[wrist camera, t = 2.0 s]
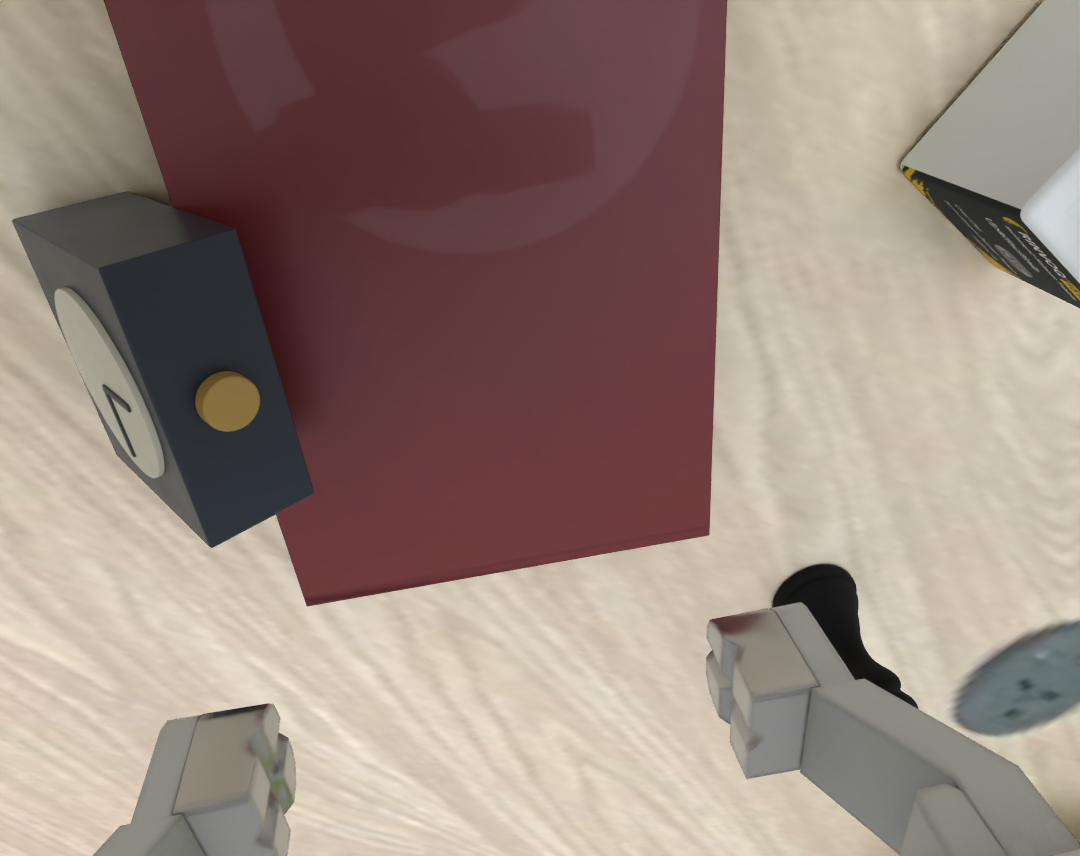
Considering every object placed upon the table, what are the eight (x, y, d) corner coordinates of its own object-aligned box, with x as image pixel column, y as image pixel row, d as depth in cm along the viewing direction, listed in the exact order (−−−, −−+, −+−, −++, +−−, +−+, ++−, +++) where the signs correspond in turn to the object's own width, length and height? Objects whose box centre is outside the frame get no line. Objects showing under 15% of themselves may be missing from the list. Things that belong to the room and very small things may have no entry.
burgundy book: (105, -100, 21) (66, -109, 19) (695, -154, 23) (733, -169, 20) (313, 559, 34) (306, 606, 31) (687, 494, 35) (709, 535, 33)
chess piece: (851, 615, 41) (969, 781, 33) (773, 636, 41) (871, 808, 33) (854, 554, 39) (981, 716, 31) (771, 576, 39) (876, 744, 30)
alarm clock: (37, 202, 25) (-108, 296, 18) (269, 173, 26) (221, 251, 18) (133, 428, 29) (49, 576, 22) (328, 398, 30) (309, 532, 23)
